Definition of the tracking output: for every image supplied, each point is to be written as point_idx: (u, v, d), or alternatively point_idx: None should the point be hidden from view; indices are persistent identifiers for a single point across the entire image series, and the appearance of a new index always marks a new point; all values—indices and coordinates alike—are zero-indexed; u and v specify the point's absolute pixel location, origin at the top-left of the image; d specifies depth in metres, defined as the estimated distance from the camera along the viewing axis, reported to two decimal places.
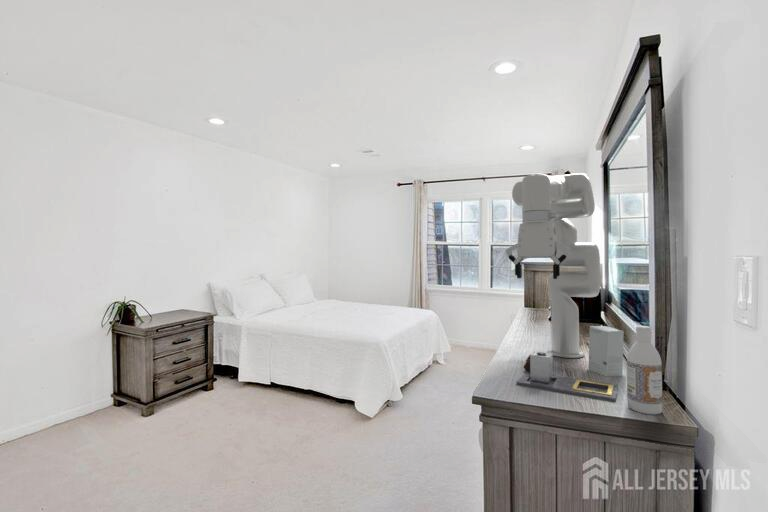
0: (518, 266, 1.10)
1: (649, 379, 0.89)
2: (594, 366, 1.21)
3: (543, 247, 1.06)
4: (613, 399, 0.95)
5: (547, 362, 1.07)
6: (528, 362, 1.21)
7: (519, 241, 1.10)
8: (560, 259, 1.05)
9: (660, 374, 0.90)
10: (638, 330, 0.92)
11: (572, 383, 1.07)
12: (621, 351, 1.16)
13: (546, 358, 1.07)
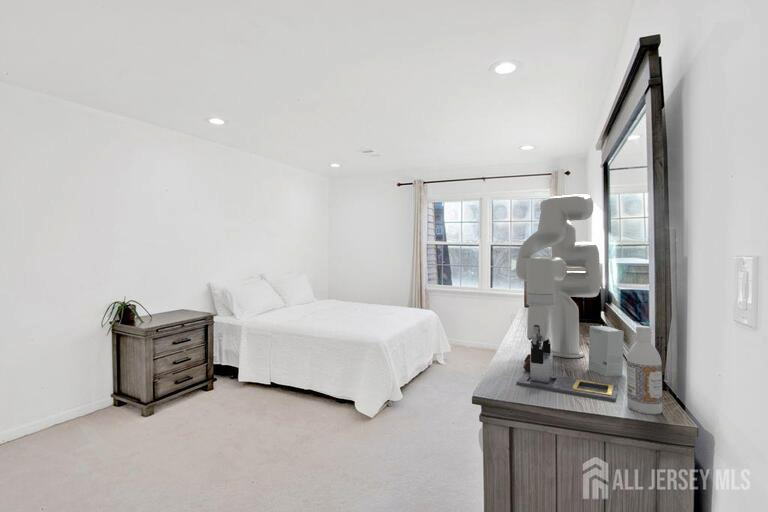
0: (543, 351, 1.05)
1: (649, 379, 0.89)
2: (594, 366, 1.21)
3: (550, 328, 1.11)
4: (613, 399, 0.95)
5: (547, 362, 1.07)
6: (528, 362, 1.20)
7: (545, 325, 1.06)
8: None
9: (660, 374, 0.90)
10: (638, 330, 0.92)
11: (572, 383, 1.07)
12: (621, 351, 1.16)
13: (546, 358, 1.07)
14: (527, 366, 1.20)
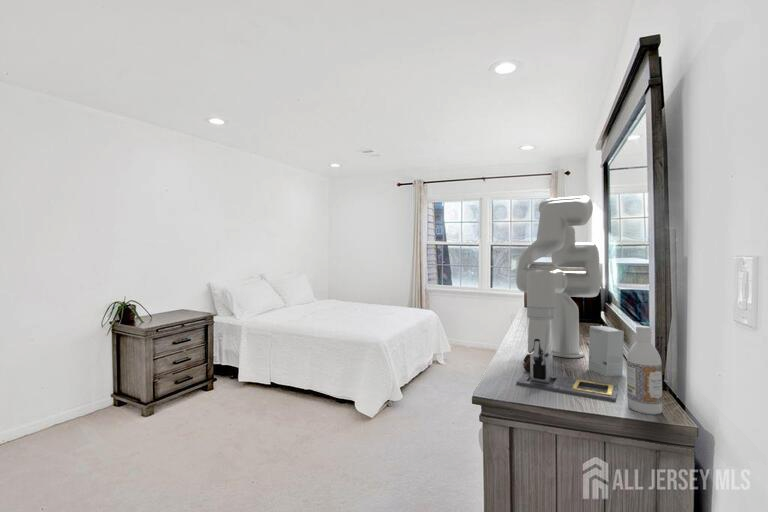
0: None
1: (649, 379, 0.89)
2: (594, 366, 1.21)
3: (551, 341, 1.11)
4: (613, 399, 0.95)
5: (547, 362, 1.07)
6: (528, 362, 1.20)
7: (545, 339, 1.06)
8: None
9: (660, 374, 0.90)
10: (638, 330, 0.92)
11: (572, 383, 1.07)
12: (621, 351, 1.16)
13: (546, 358, 1.07)
14: (527, 366, 1.20)
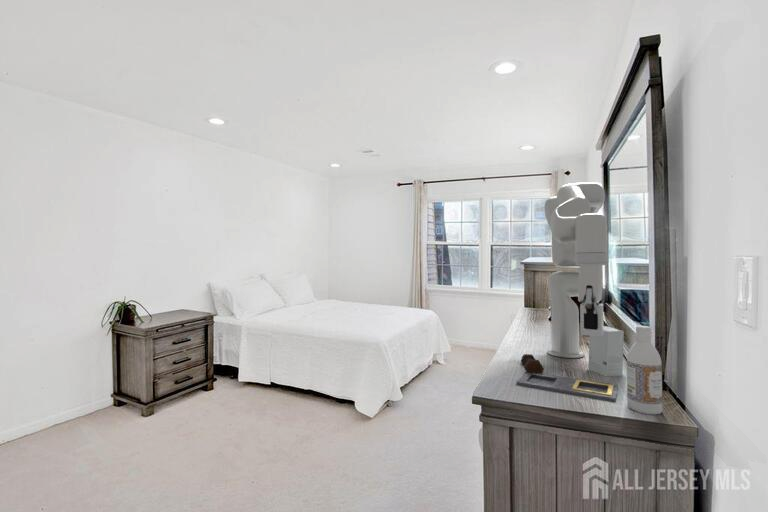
0: None
1: (649, 379, 0.89)
2: (594, 366, 1.21)
3: None
4: (613, 399, 0.95)
5: (599, 311, 1.00)
6: (529, 363, 1.20)
7: (598, 285, 0.99)
8: None
9: (660, 374, 0.90)
10: (638, 330, 0.92)
11: (572, 383, 1.07)
12: (621, 351, 1.16)
13: (598, 306, 1.00)
14: (528, 367, 1.20)
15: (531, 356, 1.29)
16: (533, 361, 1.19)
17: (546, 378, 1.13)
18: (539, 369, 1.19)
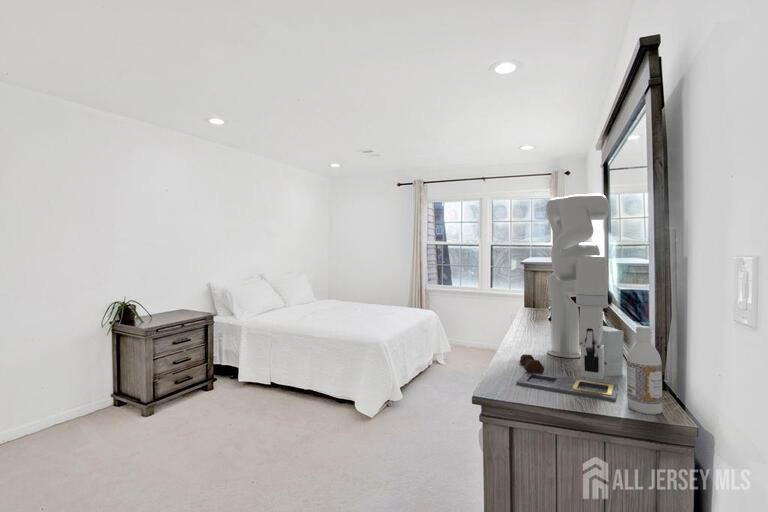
0: None
1: (649, 379, 0.89)
2: None
3: (602, 332, 1.04)
4: (613, 399, 0.95)
5: (600, 353, 1.00)
6: (530, 363, 1.19)
7: (599, 328, 0.99)
8: None
9: (660, 374, 0.90)
10: (638, 330, 0.92)
11: (572, 383, 1.07)
12: (621, 351, 1.16)
13: (599, 349, 1.00)
14: (529, 367, 1.19)
15: (530, 356, 1.28)
16: (534, 361, 1.19)
17: (546, 378, 1.13)
18: (539, 370, 1.19)
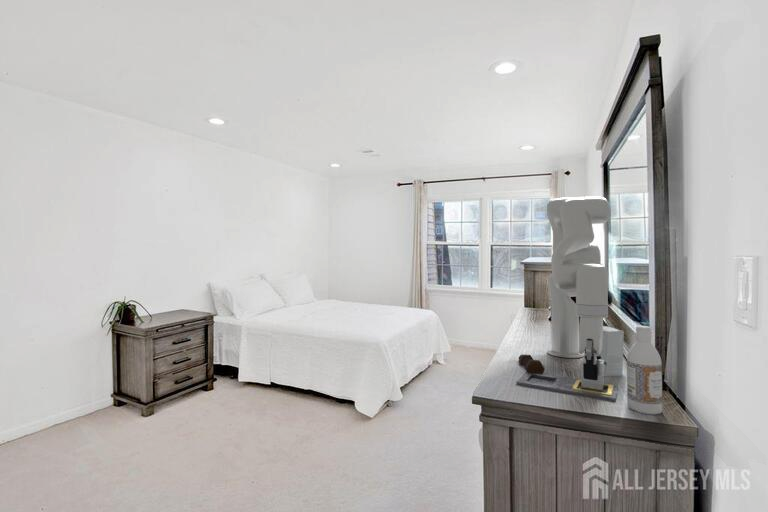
0: None
1: (649, 379, 0.89)
2: None
3: None
4: (613, 399, 0.95)
5: (600, 369, 1.00)
6: (530, 363, 1.19)
7: (599, 338, 0.99)
8: None
9: (660, 374, 0.90)
10: (638, 330, 0.92)
11: (572, 383, 1.07)
12: (621, 351, 1.16)
13: (599, 365, 1.00)
14: (529, 367, 1.19)
15: (529, 356, 1.28)
16: (534, 361, 1.19)
17: (546, 378, 1.13)
18: (540, 370, 1.19)
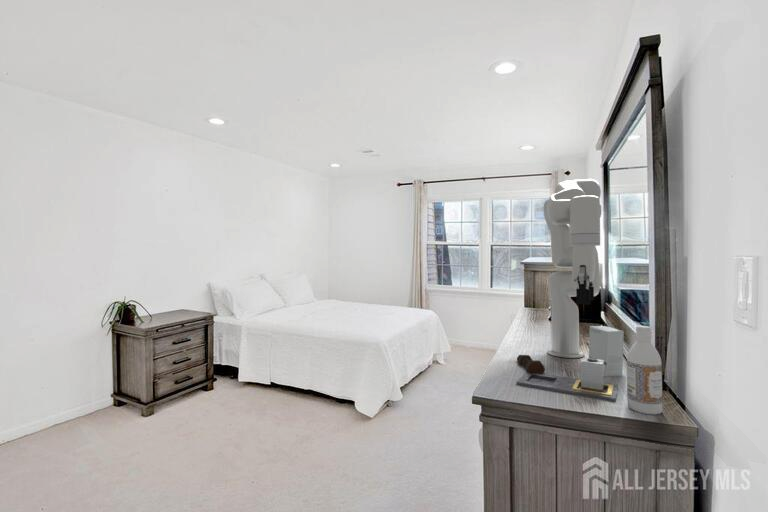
0: None
1: (649, 379, 0.89)
2: None
3: None
4: (613, 399, 0.95)
5: (600, 369, 1.00)
6: (531, 364, 1.19)
7: (591, 264, 1.02)
8: (590, 281, 1.12)
9: (660, 374, 0.90)
10: (638, 330, 0.92)
11: (572, 383, 1.07)
12: (621, 351, 1.16)
13: (599, 365, 1.00)
14: (530, 368, 1.19)
15: (528, 357, 1.28)
16: (535, 362, 1.19)
17: (546, 378, 1.13)
18: (540, 370, 1.18)
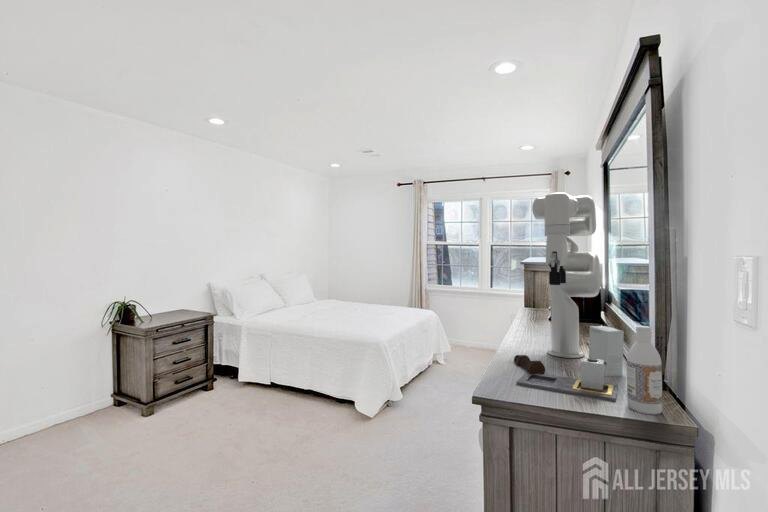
0: None
1: (649, 379, 0.89)
2: None
3: (566, 257, 1.25)
4: (613, 399, 0.95)
5: (600, 369, 1.00)
6: (532, 364, 1.18)
7: (561, 251, 1.20)
8: None
9: (660, 374, 0.90)
10: (638, 330, 0.92)
11: (572, 383, 1.07)
12: (621, 351, 1.16)
13: (599, 365, 1.00)
14: (531, 368, 1.18)
15: (526, 357, 1.28)
16: (536, 362, 1.18)
17: (546, 378, 1.13)
18: (541, 370, 1.18)
